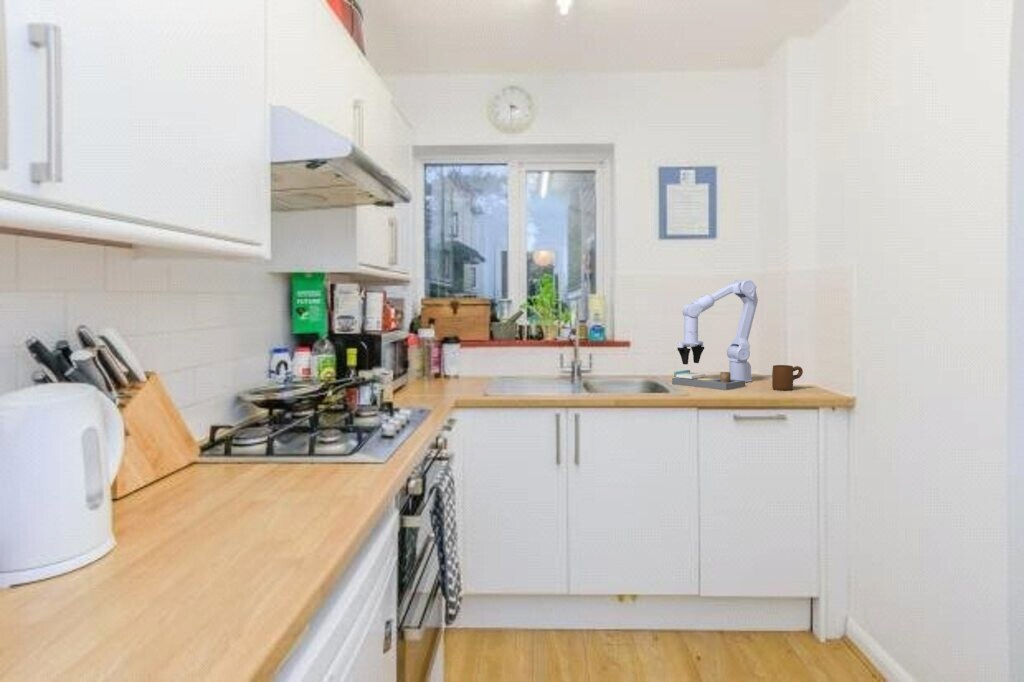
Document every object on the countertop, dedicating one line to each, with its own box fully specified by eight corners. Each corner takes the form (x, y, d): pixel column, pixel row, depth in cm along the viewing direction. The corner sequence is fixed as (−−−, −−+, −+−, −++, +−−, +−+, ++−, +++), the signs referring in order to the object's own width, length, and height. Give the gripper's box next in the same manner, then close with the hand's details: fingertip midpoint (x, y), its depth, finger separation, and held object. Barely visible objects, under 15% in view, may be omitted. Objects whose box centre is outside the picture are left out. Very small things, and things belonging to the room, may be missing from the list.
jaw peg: (723, 386, 265) (723, 371, 264) (732, 387, 262) (732, 372, 261) (718, 387, 262) (718, 372, 262) (727, 388, 259) (727, 373, 259)
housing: (691, 380, 283) (691, 375, 282) (745, 386, 263) (745, 380, 262) (672, 383, 274) (672, 377, 274) (726, 390, 254) (726, 383, 254)
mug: (797, 387, 257) (797, 364, 256) (807, 390, 250) (807, 366, 249) (768, 388, 256) (768, 365, 255) (778, 391, 248) (778, 367, 248)
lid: (687, 374, 282) (687, 369, 281) (705, 376, 275) (705, 371, 274) (673, 376, 275) (673, 371, 275) (691, 378, 268) (691, 373, 268)
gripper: (688, 333, 265) (687, 365, 266) (709, 331, 274) (709, 363, 275) (674, 332, 271) (674, 364, 272) (695, 331, 280) (695, 362, 281)
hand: (690, 363), depth 274 cm, fingers open, 7 cm apart
